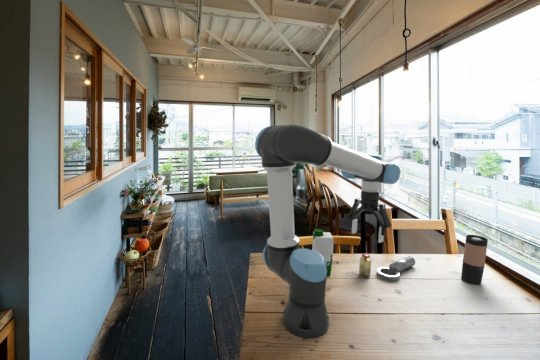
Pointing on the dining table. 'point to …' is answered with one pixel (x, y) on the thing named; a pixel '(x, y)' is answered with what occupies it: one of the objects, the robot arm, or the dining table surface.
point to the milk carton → (324, 247)
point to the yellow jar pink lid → (365, 266)
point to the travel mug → (474, 259)
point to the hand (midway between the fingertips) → (366, 237)
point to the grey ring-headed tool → (395, 269)
